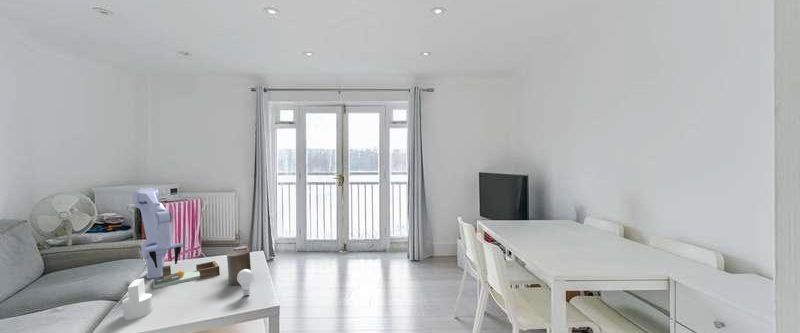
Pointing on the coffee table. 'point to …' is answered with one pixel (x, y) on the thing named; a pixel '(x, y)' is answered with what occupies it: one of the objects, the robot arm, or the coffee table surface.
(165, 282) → the rail
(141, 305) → the cylinder with rectangular tab
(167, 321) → the coffee table surface
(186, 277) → the plate
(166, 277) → the block
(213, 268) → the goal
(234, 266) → the pillar candle
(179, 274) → the ball
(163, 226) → the robot arm
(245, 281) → the lightbulb
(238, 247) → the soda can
